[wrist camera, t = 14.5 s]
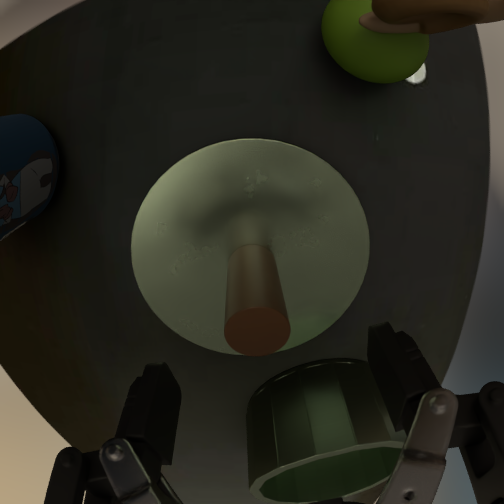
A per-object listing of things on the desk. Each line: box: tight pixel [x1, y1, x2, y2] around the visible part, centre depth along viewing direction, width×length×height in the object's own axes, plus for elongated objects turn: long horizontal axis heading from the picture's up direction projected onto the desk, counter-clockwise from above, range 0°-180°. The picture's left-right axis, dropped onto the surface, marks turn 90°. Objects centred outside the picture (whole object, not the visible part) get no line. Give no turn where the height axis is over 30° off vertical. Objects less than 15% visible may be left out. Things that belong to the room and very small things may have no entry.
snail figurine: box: [321, 0, 504, 83], centre depth 8 cm, size 5×6×12 cm
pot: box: [246, 359, 407, 504], centre depth 22 cm, size 14×14×8 cm
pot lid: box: [131, 138, 370, 356], centre depth 16 cm, size 15×15×7 cm
